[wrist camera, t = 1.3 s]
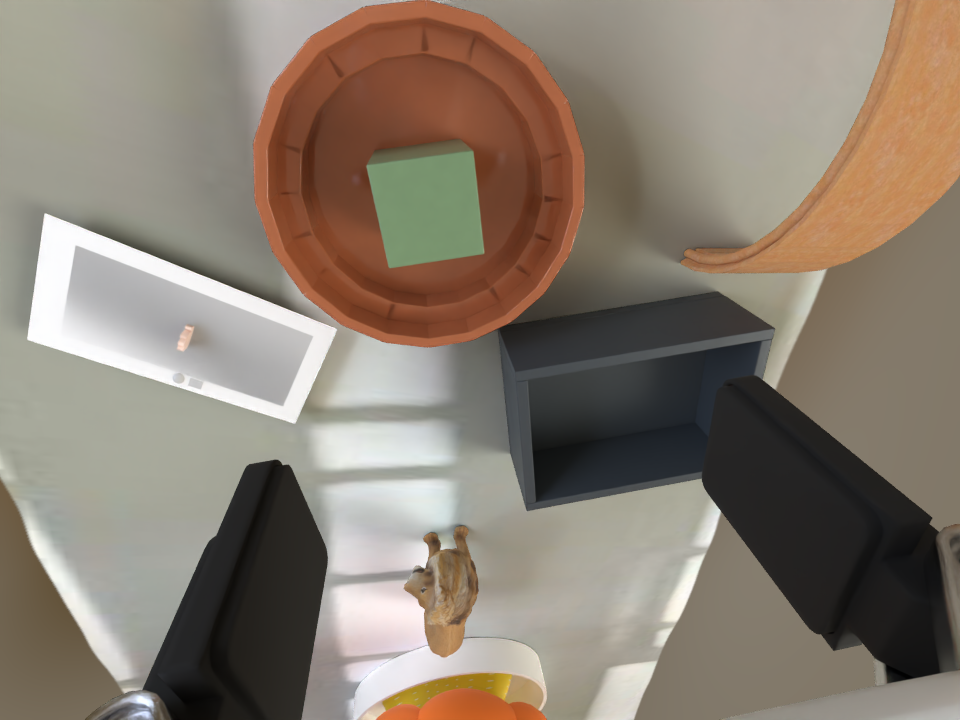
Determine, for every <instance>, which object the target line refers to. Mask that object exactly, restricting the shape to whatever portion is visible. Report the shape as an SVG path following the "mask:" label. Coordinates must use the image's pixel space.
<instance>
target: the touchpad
mask: <svg viewBox="0 0 960 720" xmlns="http://www.w3.org/2000/svg"><path fill="white" fill-rule="evenodd" d="M336 332H337V329H336V328H334V327H331V326H329V325H326V324H324V323H321V322H319V321H316V320H314V319H311V318H309V317H306V316H303V315H301V314H298V313H296V312H293V311H291V310H288V309H286V308H283V307H281V306H278V305H276V304H273V303H271V302H268V301H266V300H263V299H261V298H258V297H256V296H253V295H251V294H248V293H245V292H243V291H240V290H238V289H235V288H233V287H230V286H228V285H225V284H223V283H220V282H218V281H215V280H213V279H210V278H208V277H205V276H203V275H200V274H198V273H195V272H193V271H190V270H187V269H185V268H182V267H180V266H177V265H175V264H172V263H170V262H167V261H165V260H162V259H160V258H157V257H155V256H152V255H150V254H147V253H145V252H142V251H140V250H137V249H134V248H132V247H129V246H127V245H124V244H122V243H119V242H117V241H114V240H112V239H109V238H107V237H104V236H102V235H99V234H97V233H94V232H92V231H89V230H87V229H84V228H82V227H79V226H76V225H74V224H71V223H69V222H66V221H64V220H61V219H59V218H56V217H54V216H51V215H49V214H46V213H45V214H44V221H43V229H42V236H41V243H40V251H39V258H38V265H37V273H36V280H35V287H34V295H33V302H32V309H31V317H30V324H29V331H28V338H27V340H29V341H33V342H36V343H39V344H42V345H45V346H49V347H52V348H55V349H58V350H61V351H65V352H68V353H71V354H74V355H77V356H81V357H84V358H87V359H90V360H93V361H96V362H100V363H103V364H106V365H109V366H112V367H116V368H119V369H122V370H125V371H128V372H132V373H135V374H138V375H141V376H144V377H148V378H151V379H154V380H157V381H160V382H163V383H167V384H170V385H173V386H176V387H179V388H183V389H186V390H189V391H192V392H195V393H199V394H202V395H205V396H208V397H211V398H215V399H218V400H221V401H224V402H227V403H230V404H234V405H237V406H240V407H243V408H246V409H250V410H253V411H256V412H259V413H262V414H266V415H269V416H272V417H275V418H278V419H281V420H285V421H288V422H291V423H294V424H295V423H296V421H297V418H298V416H299V414H300V412H301V409H302V407H303V405H304V403H305V401H306V398H307V396H308V394H309V392H310V389H311V387H312V385H313V383H314V381H315V378H316V376H317V374H318V372H319V369H320V367H321V365H322V363H323V361H324V358H325V356H326V354H327V352H328V349H329V347H330V345H331V343H332V341H333V338H334V336H335V334H336Z"/></svg>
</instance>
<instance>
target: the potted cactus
mask: <svg viewBox="0 0 960 720" xmlns="http://www.w3.org/2000/svg"><path fill="white" fill-rule="evenodd" d="M546 700H547V691H546V687H545V682H544V678H543V674H542V669H541V665H540V661H539V657H538V655H537V654H536V652H535V651H534V650H533V649H531V648H530V647H528V646H527V645H525V644H522V643H520V642H516V641H513V640H508V639H501V638H466V639H463V642H462V645H461V647H460V648H459V649H458V650H457V651H456V652H455V653H453V654H451V655H449V656H448V657H445V658H443V657H441V656H440V655H437V654H434V653H433V652H432V651H431V650H430V647H429V646H425V647H422V648H419V649H416V650H413V651H410V652H407V653H405V654H403V655H400V656H398V657H396V658H394V659H392V660H390V661H388V662H386V663H384V664H383V665H381V666H380V667H378V668H377V669H375V670H374V671H372V672H371V673H370V674H369V675H368V676H367V677H366V678H365V679H364V680H363V681H362V682H361V683H360V685H359V686H358V688H357V690H356V692H355V699H354V710H353V720H547V719H546V718H545V716H544V715H543V714H542V713H541V712H540V711H541V709H542V708H543V706H544V705H545V703H546Z"/></svg>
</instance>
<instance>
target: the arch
mask: <svg viewBox="0 0 960 720" xmlns="http://www.w3.org/2000/svg"><path fill="white" fill-rule="evenodd" d="M959 176H960V0H896V1H895V6H894V10H893V14H892V18H891V22H890V27H889V31H888V35H887V39H886V43H885V47H884V51H883V54H882V57H881V59H880V62H879V65H878V68H877V70H876V73H875V76H874V79H873V81H872V84H871V87H870V90H869V92H868V95H867V98H866V100H865V102H864V104H863V106H862V108H861V110H860V112H859V114H858V116H857V118H856V120H855V122H854V124H853V126H852V128H851V130H850V132H849V134H848V136H847V139H846V141H845V142H844V144H843V146H842V147H841V149H840V150H839V152H838V153H837V155H836V157H835V158H834V160H833V161H832V163H831V164H830V166H829V168H828V169H827V171H826V172H825V174H824V175H823V177H822V179H821V180H820V181H819V182H818V183H817V185H816V186H815V187H814V188H813V190H812V191H811V192H810V193H809V195H808V196H807V197H806V198H805V199H804V201H803V202H802V203H801V204H800V206H799V207H798V208H797V209H796V210H795V211H794V212H793V213H792V214H791V215H790V216H789V217H787V218H786V219H785V220H784V221H783V222H782V223H781V224H780V225H779V226H778V227H777V228H776V229H775V230H773V231H772V232H770V233H769V234H768V235H766V236H765V237H763V238H762V239H760V240H759V241H757V242H756V243H754V244H753V245H750V246H748V247H746V248H696V250H695V251H694V250H692V249H687V250H686V251H685V252H684V256H685V257H687V258H685V259H684V260H682V261H681V264H682V265H684V266H686V267H688V268H690V269H692V270H694V271H699V272H706V273H799V272H809V271H818V270H823V269H826V268H830V267H833V266H836V265H840V264H842V263H846V262H849V261H851V260H853V259H855V258H857V257H859V256H861V255H863V254H865V253H867V252H869V251H871V250H873V249H875V248H877V247H879V246H880V245H882V244H883V243H885V242H886V241H888V240H889V239H890V238H892V237H893V236H895V235H896V234H898V233H899V232H901V231H902V230H903V229H905V228H906V227H908V226H909V225H911V224H912V223H913V222H914V221H915V220H916V219H917V218H918V217H920V215H922V214H923V213H924V212H925V211H926V210H927V209H928V208H929V207H930V206H932V205H933V204H934V203H935V202H936V201H937V200H938V199H939V198H940V197H941V196H943V195H944V194H945V193H946V192H947V190H948V189H949V188H950V187H951V186H952V184H953V183H954V182H955V181H956V180H957V179H958V177H959Z"/></svg>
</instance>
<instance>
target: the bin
mask: <svg viewBox="0 0 960 720" xmlns="http://www.w3.org/2000/svg"><path fill="white" fill-rule="evenodd" d="M774 331H775V328H774V327H772V326H771V325H769V324H767V323H766V322H764V321H763V320H761V319H760V318H758V317H757V316H755V315H754V314H752V313H751V312H749V311H747V310H746V309H744V308H743V307H741V306H740V305H738V304H737V303H735V302H734V301H732V300H730V299H729V298H727V297H726V296H724V295H722V294H721V293H719V292H712V293H706V294H700V295H694V296H688V297H681V298H675V299H669V300H663V301H657V302H650V303H644V304H638V305H632V306H626V307H619V308H613V309H607V310H601V311H595V312H588V313H582V314H576V315H570V316H564V317H557V318H551V319H545V320H539V321H533V322H526V323H520V324H514V325H508V326H502V327H500V328H498V334H499V344H500V354H501V363H502V373H503V383H504V393H505V403H506V413H507V423H508V433H509V443H510V453H511V457H512V460H513V464H514V468H515V471H516V475H517V478H518V482H519V485H520V489H521V493H522V496H523V500H524V503H525V507H526V510H527V511H530V510H535V509H540V508H546V507H551V506H556V505H562V504H567V503H573V502H578V501H583V500H589V499H594V498H599V497H605V496H610V495H616V494H621V493H626V492H632V491H637V490H642V489H648V488H653V487H659V486H664V485H669V484H675V483H680V482H685V481H691V480H696V479H701V478H702V471H703V465H704V459H705V454H706V448H707V443H708V437H709V431H710V426H711V420H712V414H713V409H714V403H715V397H716V393H717V390H718V389H719V388H720V387H722V386H723V383H724V382H725V381H726V380H728V379H732V378H738V377H743V376H749V375H756V376H758V377H759V378H761V379H763V375H764V371H765V367H766V363H767V359H768V355H769V351H770V346H771V342H772V338H773V335H774Z"/></svg>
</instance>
